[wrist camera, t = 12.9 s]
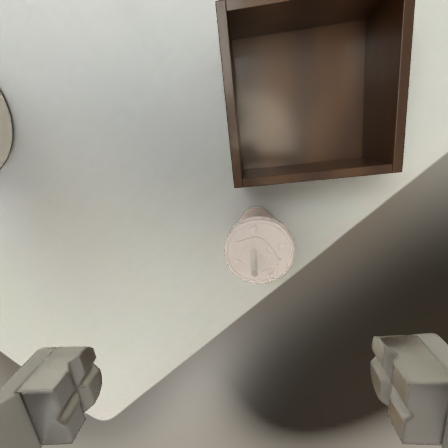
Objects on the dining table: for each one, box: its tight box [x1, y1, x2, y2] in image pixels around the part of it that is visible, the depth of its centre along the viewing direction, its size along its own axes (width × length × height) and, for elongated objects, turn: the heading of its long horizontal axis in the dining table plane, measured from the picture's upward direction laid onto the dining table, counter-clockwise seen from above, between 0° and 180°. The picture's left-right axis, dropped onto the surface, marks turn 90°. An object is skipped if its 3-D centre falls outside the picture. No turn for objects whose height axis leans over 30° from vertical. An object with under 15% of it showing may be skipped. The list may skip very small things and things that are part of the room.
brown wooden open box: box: [215, 0, 415, 188], centre depth 26 cm, size 15×15×7 cm
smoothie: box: [224, 207, 295, 284], centre depth 28 cm, size 6×6×14 cm
